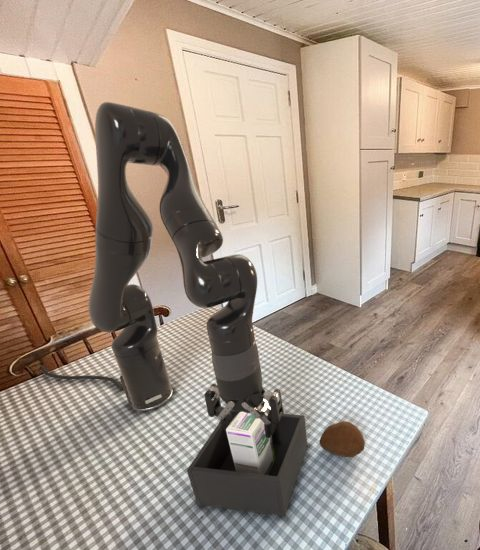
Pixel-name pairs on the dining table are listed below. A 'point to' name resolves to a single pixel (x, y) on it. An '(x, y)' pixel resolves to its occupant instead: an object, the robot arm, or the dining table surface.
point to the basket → (246, 486)
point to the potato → (342, 439)
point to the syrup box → (250, 445)
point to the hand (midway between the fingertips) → (249, 432)
